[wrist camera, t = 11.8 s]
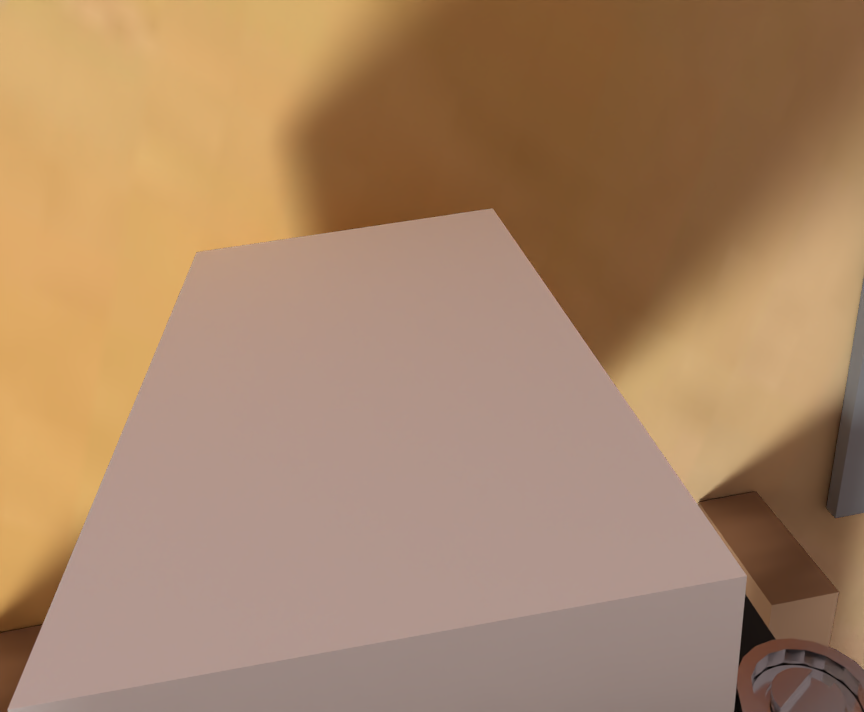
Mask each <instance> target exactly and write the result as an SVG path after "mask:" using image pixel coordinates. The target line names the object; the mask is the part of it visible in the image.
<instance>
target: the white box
mask: <svg viewBox="0 0 864 712" xmlns="http://www.w3.org/2000/svg"><path fill="white" fill-rule="evenodd" d="M746 581H747V575H746V574H745V572H744V571H743V570H742V568H741V567H740V565H739V564H738V562H737V561H736V559H735V558H734V557H733V555H732V554H731V552H730V551H729V549H728V548H727V546H726V545H725V544H724V542H723V541H722V539H721V538H720V536H719V535H718V533H717V532H716V531H715V529H714V528H713V526H712V525H711V523H710V522H709V520H708V519H707V517H706V516H705V515H704V513H703V512H702V510H701V509H700V507H699V506H698V504H697V503H696V502H695V500H694V499H693V497H692V496H691V494H690V493H689V491H688V490H687V489H686V487H685V486H684V484H683V483H682V481H681V480H680V478H679V477H678V476H677V474H676V473H675V471H674V470H673V468H672V467H671V465H670V464H669V463H668V461H667V460H666V458H665V457H664V455H663V454H662V452H661V451H660V450H659V448H658V447H657V445H656V444H655V442H654V441H653V439H652V438H651V436H650V435H649V434H648V432H647V431H646V429H645V428H644V426H643V425H642V423H641V422H640V421H639V419H638V418H637V416H636V415H635V413H634V412H633V410H632V409H631V408H630V406H629V405H628V403H627V402H626V400H625V399H624V397H623V396H622V395H621V393H620V392H619V390H618V389H617V387H616V386H615V384H614V383H613V382H612V380H611V379H610V377H609V376H608V374H607V373H606V371H605V370H604V369H603V367H602V366H601V364H600V363H599V361H598V360H597V358H596V357H595V355H594V354H593V353H592V351H591V350H590V348H589V347H588V345H587V344H586V342H585V341H584V340H583V338H582V337H581V335H580V334H579V332H578V331H577V329H576V328H575V327H574V325H573V324H572V322H571V321H570V319H569V318H568V316H567V315H566V314H565V312H564V311H563V309H562V308H561V306H560V305H559V303H558V302H557V301H556V299H555V298H554V296H553V295H552V293H551V292H550V290H549V289H548V288H547V286H546V285H545V283H544V282H543V280H542V279H541V277H540V276H539V274H538V273H537V272H536V270H535V269H534V267H533V266H532V264H531V263H530V261H529V260H528V259H527V257H526V256H525V254H524V253H523V251H522V250H521V248H520V247H519V246H518V244H517V243H516V241H515V240H514V238H513V237H512V235H511V234H510V233H509V231H508V230H507V228H506V227H505V225H504V224H503V222H502V221H501V220H500V218H499V217H498V215H497V214H496V212H495V211H494V209H493V208H491V209H485V210H478V211H471V212H464V213H458V214H451V215H444V216H437V217H431V218H424V219H417V220H410V221H404V222H397V223H390V224H383V225H377V226H370V227H363V228H356V229H350V230H343V231H336V232H330V233H323V234H316V235H309V236H303V237H296V238H289V239H282V240H276V241H269V242H262V243H255V244H249V245H242V246H235V247H228V248H222V249H215V250H208V251H201V252H197V253H196V255H195V257H194V260H193V262H192V265H191V267H190V270H189V272H188V274H187V277H186V279H185V282H184V284H183V287H182V289H181V291H180V294H179V296H178V299H177V301H176V303H175V306H174V308H173V311H172V313H171V316H170V318H169V320H168V323H167V325H166V328H165V330H164V332H163V335H162V337H161V340H160V342H159V345H158V347H157V349H156V352H155V354H154V357H153V359H152V361H151V364H150V366H149V369H148V371H147V374H146V376H145V378H144V381H143V383H142V386H141V388H140V390H139V393H138V395H137V398H136V400H135V403H134V405H133V407H132V410H131V412H130V415H129V417H128V419H127V422H126V424H125V427H124V429H123V432H122V434H121V436H120V439H119V441H118V444H117V446H116V448H115V451H114V453H113V456H112V458H111V461H110V463H109V465H108V468H107V470H106V473H105V475H104V477H103V480H102V482H101V485H100V487H99V490H98V492H97V494H96V497H95V499H94V502H93V504H92V506H91V509H90V511H89V514H88V516H87V519H86V521H85V523H84V526H83V528H82V531H81V533H80V535H79V538H78V540H77V543H76V545H75V548H74V550H73V552H72V555H71V557H70V560H69V562H68V564H67V567H66V569H65V572H64V574H63V577H62V579H61V581H60V584H59V586H58V589H57V591H56V593H55V596H54V598H53V601H52V603H51V606H50V608H49V610H48V613H47V615H46V618H45V620H44V622H43V625H42V627H41V630H40V632H39V635H38V637H37V639H36V642H35V644H34V647H33V649H32V651H31V654H30V656H29V659H28V661H27V664H26V666H25V668H24V671H23V673H22V676H21V678H20V680H19V683H18V685H17V688H16V690H15V693H14V695H13V697H12V700H11V702H10V705H9V707H8V709H7V710H8V712H734V707H735V696H736V686H737V675H738V665H739V654H740V644H741V633H742V623H743V612H744V602H745V591H746Z"/></svg>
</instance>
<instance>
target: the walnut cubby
mask: <svg viewBox="0 0 864 712" xmlns="http://www.w3.org/2000/svg"><path fill="white" fill-rule="evenodd" d="M698 506H699V507H700V509H701V510H702V512H703V513H704V515H705V516H706V517H707V519H708V520H709V522H710V523H711V525H712V526H713V528H714V529H715V531H716V532H717V533H718V535H719V536H720V538H721V539H722V541H723V542H724V544H725V545H726V546H727V548H728V549H729V551H730V552H731V554H732V555H733V557H734V558H735V559H736V561H737V562H738V564H739V565H740V567H741V568H742V570H743V571H744V572H745V574H746V575H747V581H746V591H745V594H746V596H747V597H748V599H749V600H750V602H751V603H752V605H753V606H754V608H755V609H756V611H757V612H758V614H759V615H760V617H761V618H762V620H763V621H764V622H765V624H766V625H767V627H768V628H769V630H770V631H771V633H772V634H773V636H774V637H775V639H776V640H777V639H790V638H793V639H800V640H807V641H814V642H816V643H819V644H822V645H825V646H827V647H829V644H830V638H831V633H832V627H833V622H834V617H835V611H836V606H837V600H838V595H839V591H838V590H837V589H836V588H835V587H834V585H833V584H832V583H831V582H830V581H829V579H828V578H827V577H826V576H825V574H824V573H823V572H822V571H821V570H820V568H819V567H818V566H817V565H816V564H815V562H814V561H813V560H812V559H811V558H810V556H809V555H808V554H807V553H806V551H805V550H804V549H803V548H802V547H801V545H800V544H799V543H798V542H797V541H796V539H795V538H794V537H793V536H792V535H791V533H790V532H789V531H788V530H787V528H786V527H785V526H784V525H783V524H782V522H781V521H780V520H779V519H778V518H777V516H776V515H775V514H774V513H773V512H772V510H771V509H770V508H769V507H768V505H767V504H766V503H765V502H764V501H763V499H762V498H761V497H760V496H759V495H758V493H757V492H751V493H745V494H740V495H734V496H729V497H724V498H718V499H713V500H708V501H702V502H699V505H698ZM41 627H42V625H39V626H34V627H29V628H23V629H18V630H13V631H7V632H2V633H0V712H8V710H7V709H8V707H9V705H10V702H11V700H12V697H13V695H14V693H15V690H16V688H17V685H18V683H19V680H20V678H21V676H22V673H23V671H24V668H25V666H26V664H27V661H28V659H29V656H30V654H31V651H32V649H33V647H34V644H35V642H36V639H37V637H38V635H39V632H40V630H41Z"/></svg>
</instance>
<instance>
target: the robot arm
mask: <svg viewBox="0 0 864 712" xmlns="http://www.w3.org/2000/svg"><path fill="white" fill-rule="evenodd" d="M734 712H864V670H863V669H862V668H861V667H860V666H859V665H858V664H857V663H856V662H855V661H853V660H852V659H850V658H849V657H847V656H845V655H844V654H842V653H840V652H839V651H837V650H836V649H833V648H830V647H827V646H825V645H822V644H819V643H816V642H814V641H807V640H800V639H793V638H790V639H777V640H776V639H775V637H774V636H773V634H772V633H771V631H770V630H769V628H768V627H767V625H766V624H765V622H764V621H763V620H762V618H761V617H760V615H759V614H758V612H757V611H756V609H755V608H754V606H753V605H752V603H751V602H750V600H749V599H748V597H747V596H746V594H745V602H744V612H743V623H742V633H741V644H740V654H739V665H738V675H737V686H736V696H735V707H734Z"/></svg>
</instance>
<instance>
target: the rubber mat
mask: <svg viewBox="0 0 864 712" xmlns="http://www.w3.org/2000/svg"><path fill="white" fill-rule="evenodd" d="M826 509H827V510H828V511H829V512H830V513H831V514H832V515H833V516H834V517H835V518H839V517H844V516H849V515H855V514H860V513H864V279H863V286H862V292H861V298H860V304H859V310H858V316H857V322H856V329H855V335H854V341H853V347H852V353H851V359H850V365H849V372H848V378H847V384H846V390H845V396H844V402H843V408H842V415H841V421H840V427H839V433H838V439H837V445H836V452H835V458H834V464H833V470H832V476H831V482H830V488H829V495H828V501H827V507H826Z"/></svg>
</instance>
